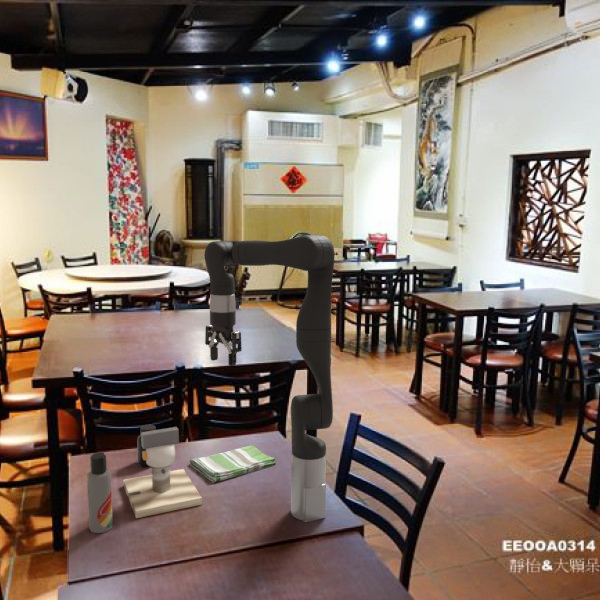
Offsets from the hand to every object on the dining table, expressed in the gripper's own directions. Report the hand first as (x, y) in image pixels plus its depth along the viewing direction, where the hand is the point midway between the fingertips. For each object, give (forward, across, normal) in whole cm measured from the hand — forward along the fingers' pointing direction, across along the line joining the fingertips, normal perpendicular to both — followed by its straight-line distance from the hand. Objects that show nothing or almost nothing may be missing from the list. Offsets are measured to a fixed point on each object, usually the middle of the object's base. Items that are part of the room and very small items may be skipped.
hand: (223, 362), depth 176 cm
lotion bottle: (+36, -1, +41) cm, 55 cm away
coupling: (+26, +3, +20) cm, 33 cm away
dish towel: (+37, +5, -8) cm, 38 cm away
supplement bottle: (+36, +24, +11) cm, 45 cm away
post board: (+36, +3, +20) cm, 41 cm away
